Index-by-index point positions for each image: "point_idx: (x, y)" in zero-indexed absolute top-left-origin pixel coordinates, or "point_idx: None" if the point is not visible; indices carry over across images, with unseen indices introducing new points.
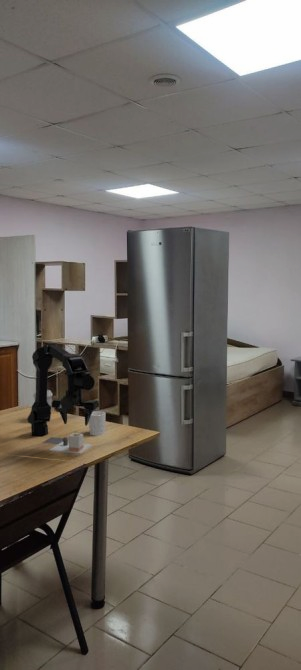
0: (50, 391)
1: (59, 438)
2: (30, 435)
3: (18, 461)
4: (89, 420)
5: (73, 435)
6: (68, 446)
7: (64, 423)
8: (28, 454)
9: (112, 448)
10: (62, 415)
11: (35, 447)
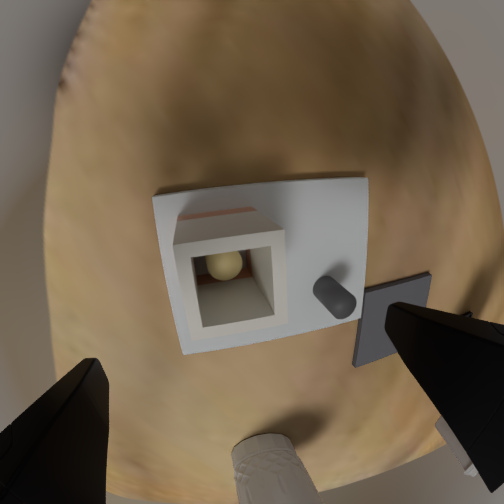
0: (474, 474)
1: (386, 350)
2: (471, 316)
3: (403, 35)
4: (302, 484)
5: (270, 297)
6: (296, 273)
7: (403, 302)
8: (421, 124)
9: (78, 360)
10: (496, 334)
11: (435, 221)
